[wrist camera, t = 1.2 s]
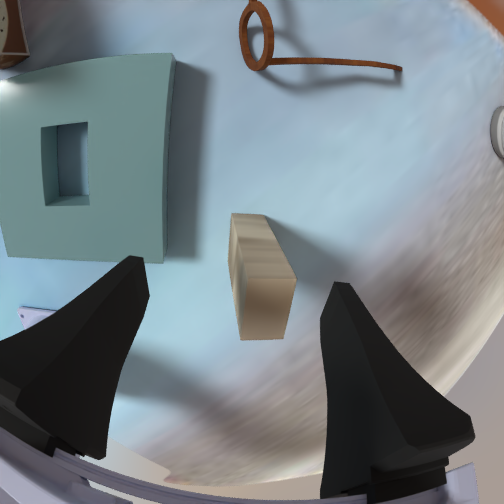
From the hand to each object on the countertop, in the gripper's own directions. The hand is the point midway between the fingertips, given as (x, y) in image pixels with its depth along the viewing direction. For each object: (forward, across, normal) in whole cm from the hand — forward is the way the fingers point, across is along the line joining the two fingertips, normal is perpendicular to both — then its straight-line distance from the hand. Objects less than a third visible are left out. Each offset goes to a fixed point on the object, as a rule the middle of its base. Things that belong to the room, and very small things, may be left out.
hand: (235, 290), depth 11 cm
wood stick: (+11, 0, +5) cm, 12 cm away
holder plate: (+9, +13, -1) cm, 16 cm away
